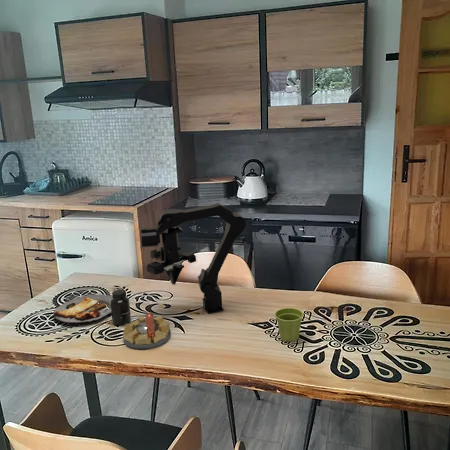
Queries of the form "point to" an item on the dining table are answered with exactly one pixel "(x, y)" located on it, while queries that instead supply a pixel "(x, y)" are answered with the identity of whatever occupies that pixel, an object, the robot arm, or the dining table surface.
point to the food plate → (83, 309)
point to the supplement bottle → (120, 308)
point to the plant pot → (289, 323)
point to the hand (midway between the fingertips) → (173, 284)
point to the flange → (143, 330)
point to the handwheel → (152, 335)
